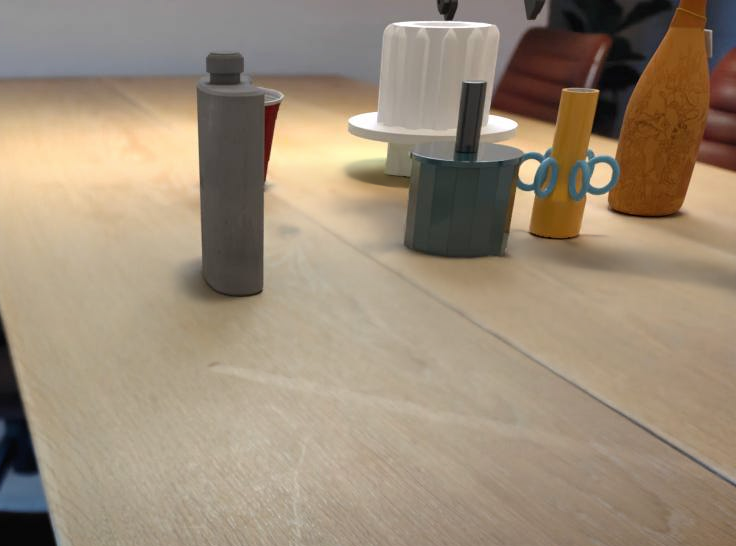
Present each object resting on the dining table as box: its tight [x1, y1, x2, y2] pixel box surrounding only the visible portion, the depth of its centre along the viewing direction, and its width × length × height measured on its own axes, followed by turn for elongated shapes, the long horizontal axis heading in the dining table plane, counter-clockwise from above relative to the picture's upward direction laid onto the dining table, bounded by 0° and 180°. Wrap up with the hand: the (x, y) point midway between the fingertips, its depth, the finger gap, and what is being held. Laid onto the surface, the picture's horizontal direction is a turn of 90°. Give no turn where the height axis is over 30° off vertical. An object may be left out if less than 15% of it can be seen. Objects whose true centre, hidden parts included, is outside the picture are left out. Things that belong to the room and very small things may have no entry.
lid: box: [408, 80, 525, 168], centre depth 97 cm, size 12×12×8 cm
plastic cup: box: [257, 86, 285, 186], centre depth 128 cm, size 11×11×12 cm
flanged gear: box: [347, 20, 519, 178], centre depth 134 cm, size 25×25×19 cm
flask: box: [195, 50, 265, 297], centre depth 90 cm, size 15×6×20 cm, turn 7°
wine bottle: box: [607, 0, 713, 217], centre depth 111 cm, size 10×10×30 cm
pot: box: [403, 159, 521, 259], centre depth 102 cm, size 12×12×10 cm
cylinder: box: [516, 87, 620, 239], centre depth 106 cm, size 12×10×15 cm
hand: (493, 13), depth 89 cm, fingers open, 8 cm apart
